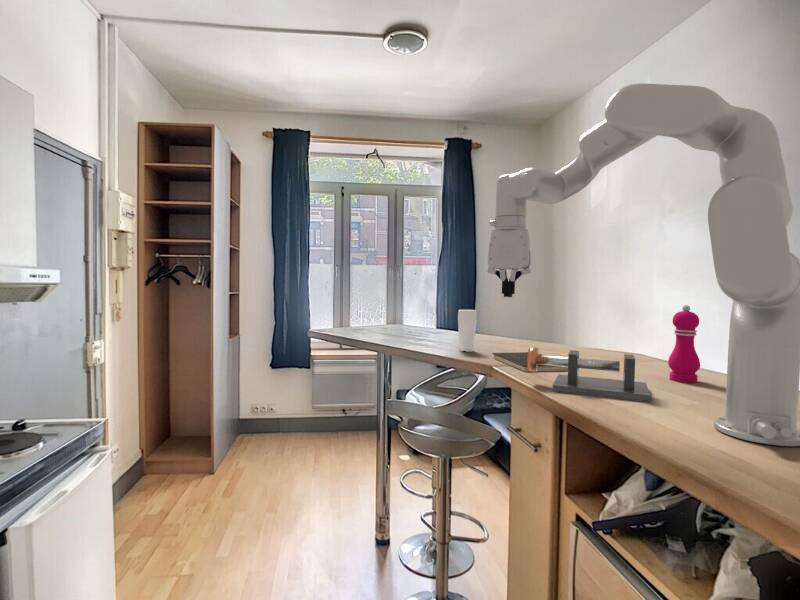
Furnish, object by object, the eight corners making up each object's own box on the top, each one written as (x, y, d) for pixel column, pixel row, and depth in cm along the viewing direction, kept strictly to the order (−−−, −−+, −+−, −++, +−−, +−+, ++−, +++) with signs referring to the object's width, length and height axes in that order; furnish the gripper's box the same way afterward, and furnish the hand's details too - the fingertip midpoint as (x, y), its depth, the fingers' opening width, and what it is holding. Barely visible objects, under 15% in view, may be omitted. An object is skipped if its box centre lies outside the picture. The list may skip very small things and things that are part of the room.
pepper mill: (704, 384, 115) (708, 306, 115) (673, 382, 117) (676, 305, 116) (692, 378, 123) (695, 304, 122) (663, 376, 124) (666, 304, 123)
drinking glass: (454, 349, 167) (455, 309, 166) (470, 349, 169) (471, 309, 168) (462, 352, 161) (463, 310, 160) (479, 352, 163) (480, 310, 162)
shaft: (618, 376, 108) (619, 352, 108) (619, 381, 103) (620, 355, 102) (530, 368, 116) (531, 345, 116) (526, 372, 111) (527, 348, 111)
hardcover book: (523, 373, 128) (523, 365, 128) (492, 359, 151) (492, 352, 151) (574, 372, 131) (574, 364, 131) (536, 358, 154) (536, 352, 154)
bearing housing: (645, 388, 109) (646, 353, 109) (650, 402, 97) (652, 362, 96) (558, 379, 118) (559, 347, 117) (552, 391, 105) (553, 355, 104)
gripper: (477, 223, 114) (475, 296, 115) (538, 222, 108) (536, 298, 109) (484, 227, 121) (482, 295, 122) (542, 225, 115) (540, 297, 116)
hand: (508, 296), depth 115 cm, fingers closed
